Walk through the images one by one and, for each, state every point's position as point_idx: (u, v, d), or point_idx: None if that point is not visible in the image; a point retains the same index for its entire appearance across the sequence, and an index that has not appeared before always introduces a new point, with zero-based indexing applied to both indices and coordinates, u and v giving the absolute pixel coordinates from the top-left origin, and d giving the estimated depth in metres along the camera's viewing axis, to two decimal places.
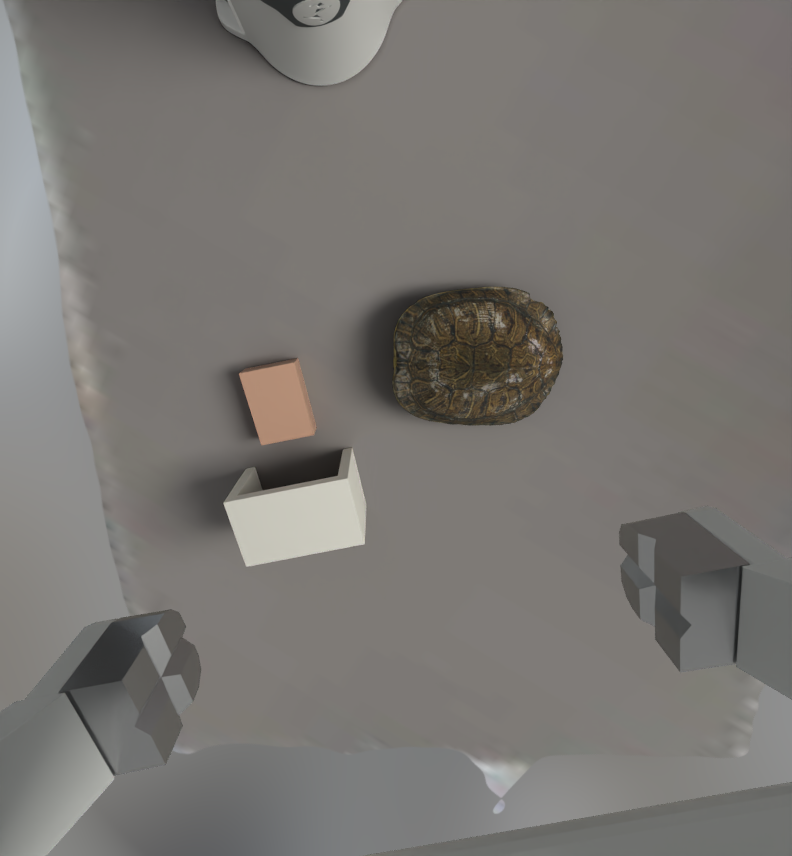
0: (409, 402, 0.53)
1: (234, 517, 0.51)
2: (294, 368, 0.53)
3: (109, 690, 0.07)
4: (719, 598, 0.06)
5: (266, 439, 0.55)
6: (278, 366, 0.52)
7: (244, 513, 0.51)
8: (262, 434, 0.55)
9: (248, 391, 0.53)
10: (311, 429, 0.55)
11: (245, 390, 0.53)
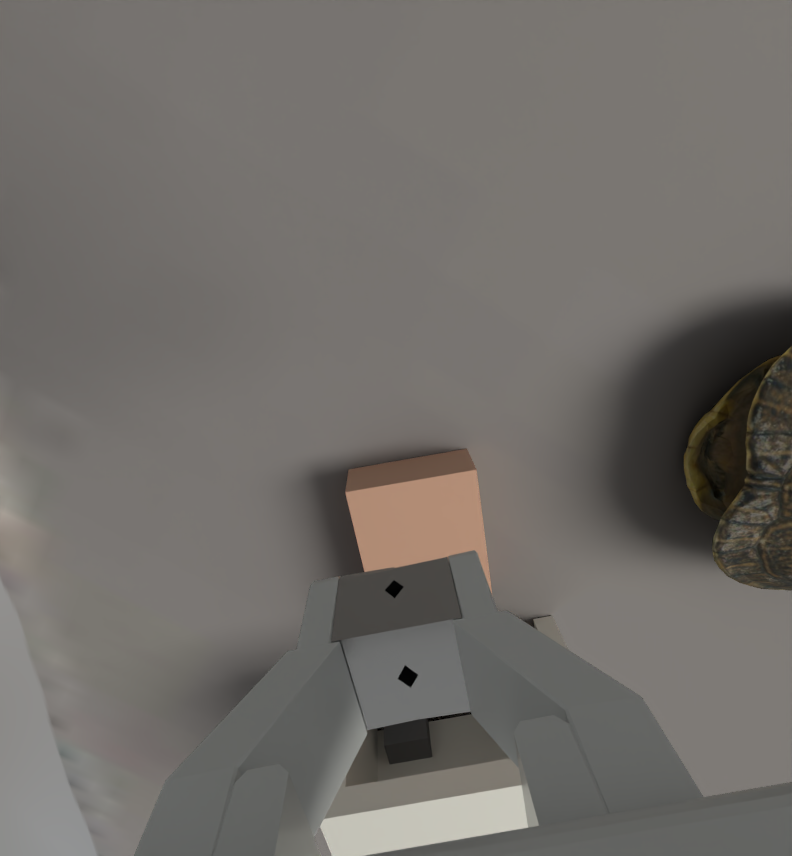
0: (742, 560, 0.23)
1: (341, 844, 0.21)
2: (475, 482, 0.23)
3: (382, 639, 0.06)
4: (440, 650, 0.07)
5: None
6: (438, 477, 0.22)
7: (366, 837, 0.21)
8: None
9: (363, 529, 0.23)
10: None
11: (356, 527, 0.23)
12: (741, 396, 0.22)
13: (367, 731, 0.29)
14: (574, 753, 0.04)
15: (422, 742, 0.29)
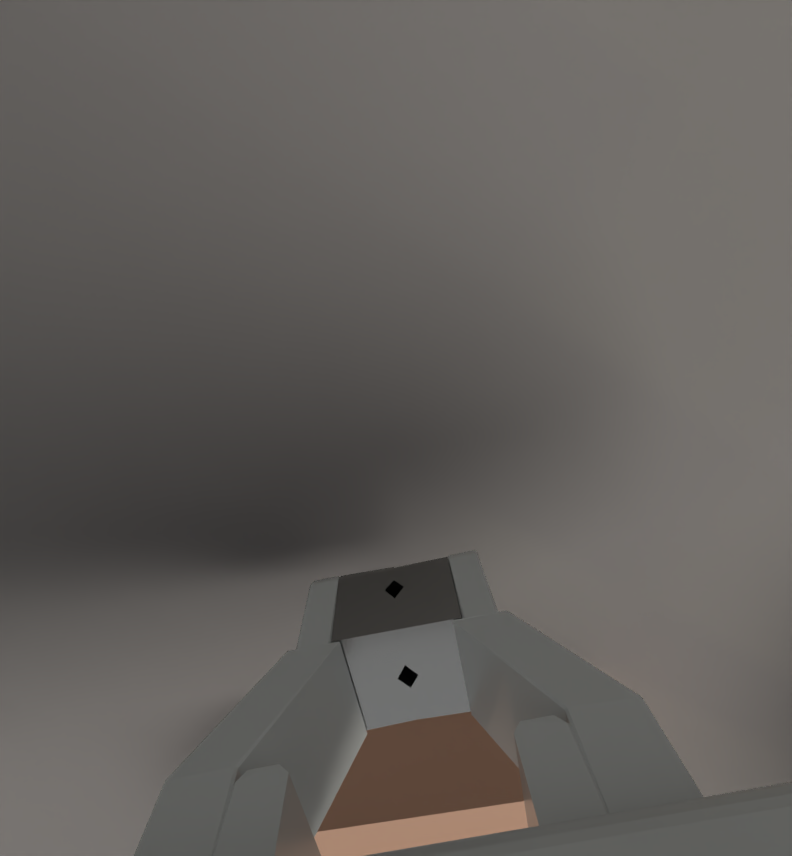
0: None
1: None
2: None
3: (382, 639, 0.06)
4: (440, 650, 0.07)
5: None
6: (523, 803, 0.09)
7: None
8: None
9: None
10: None
11: None
12: None
13: None
14: (574, 753, 0.04)
15: None
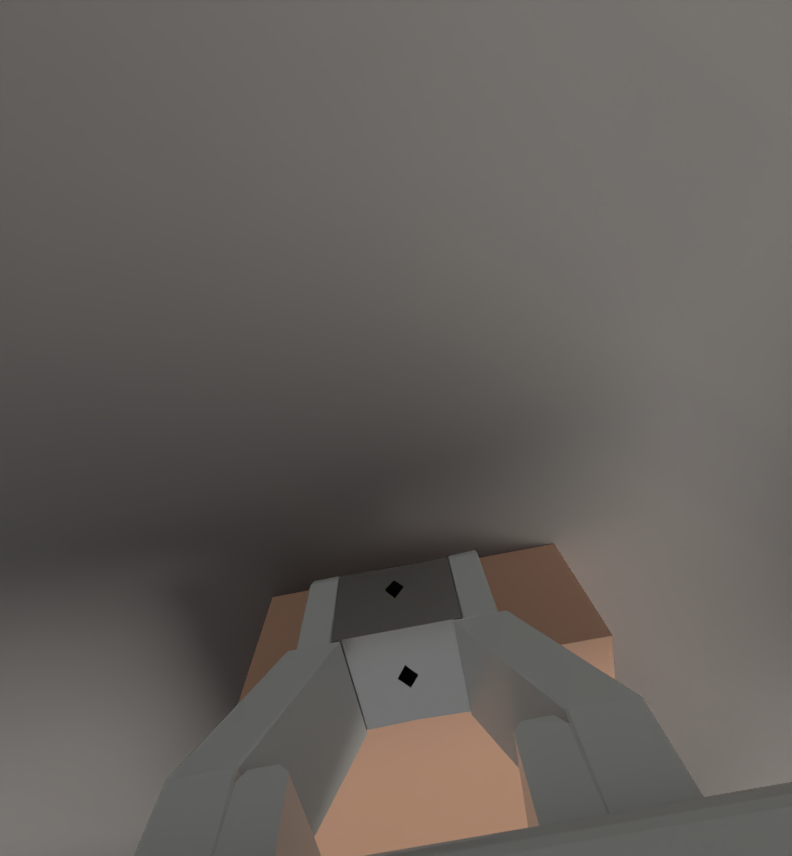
0: None
1: None
2: (605, 668, 0.08)
3: (383, 639, 0.06)
4: (440, 650, 0.07)
5: None
6: None
7: None
8: None
9: None
10: None
11: None
12: None
13: None
14: (574, 753, 0.04)
15: None
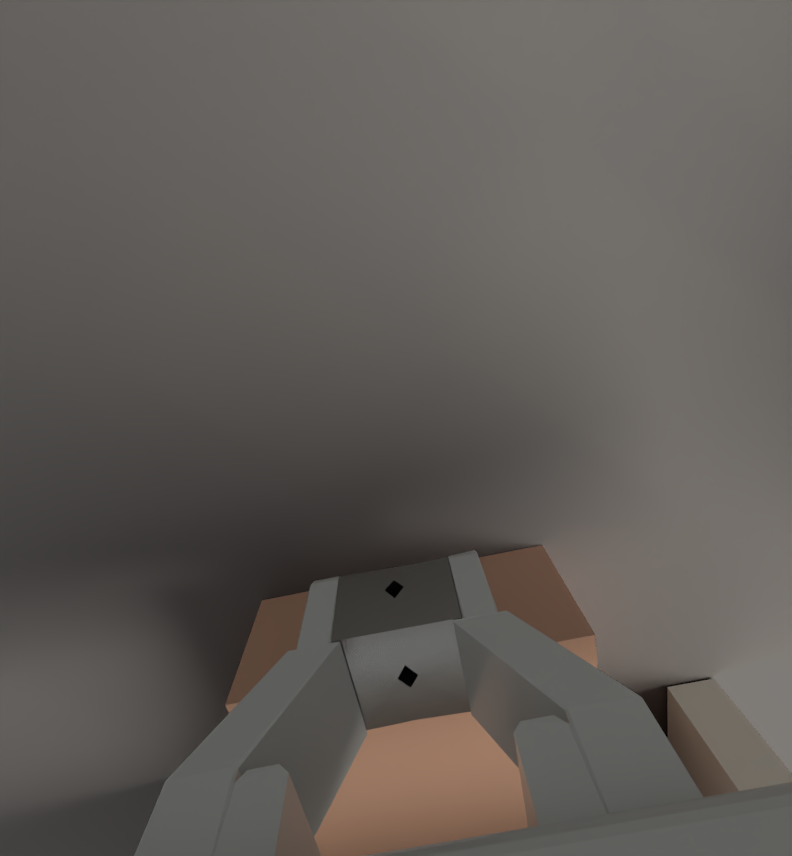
0: None
1: None
2: None
3: (382, 640, 0.06)
4: (440, 649, 0.07)
5: None
6: None
7: None
8: None
9: None
10: None
11: None
12: None
13: None
14: (574, 753, 0.04)
15: None
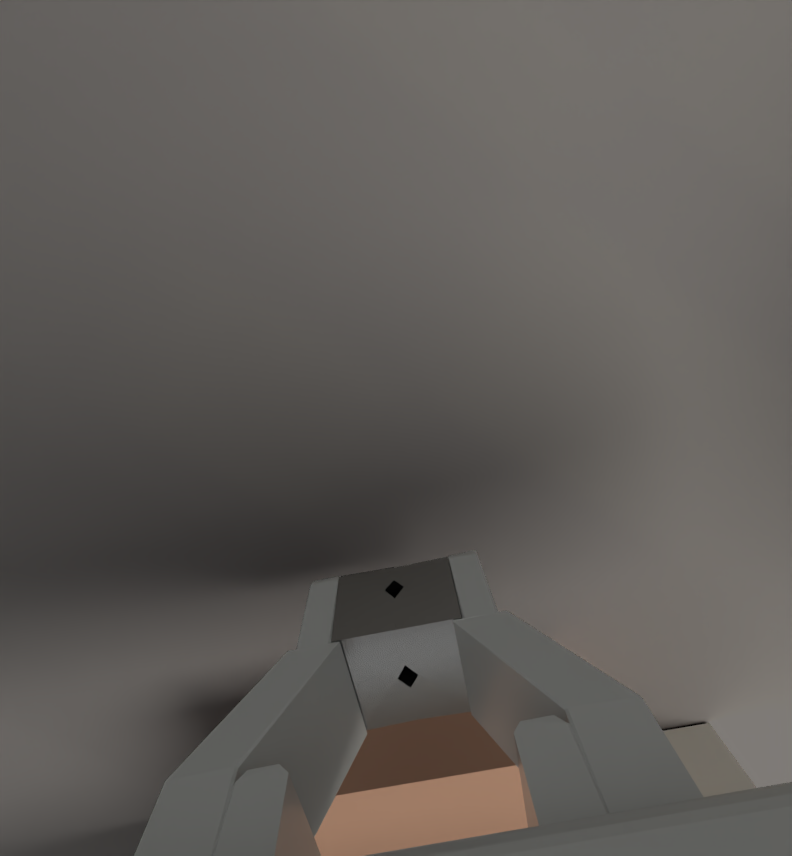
0: None
1: None
2: None
3: (383, 639, 0.06)
4: (440, 650, 0.07)
5: None
6: (484, 773, 0.08)
7: None
8: None
9: None
10: None
11: None
12: None
13: None
14: (574, 753, 0.04)
15: None
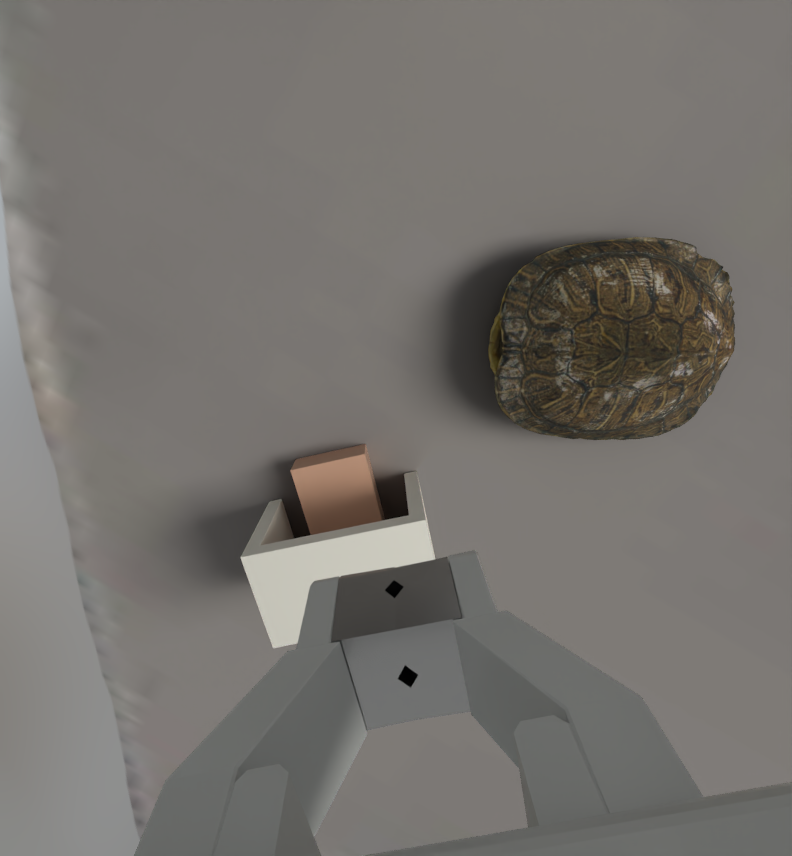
0: (516, 407, 0.36)
1: (256, 578, 0.35)
2: (364, 461, 0.39)
3: (382, 639, 0.06)
4: (440, 650, 0.07)
5: None
6: (343, 459, 0.39)
7: (271, 572, 0.34)
8: None
9: (302, 492, 0.40)
10: None
11: (298, 491, 0.40)
12: None
13: None
14: (574, 753, 0.04)
15: None
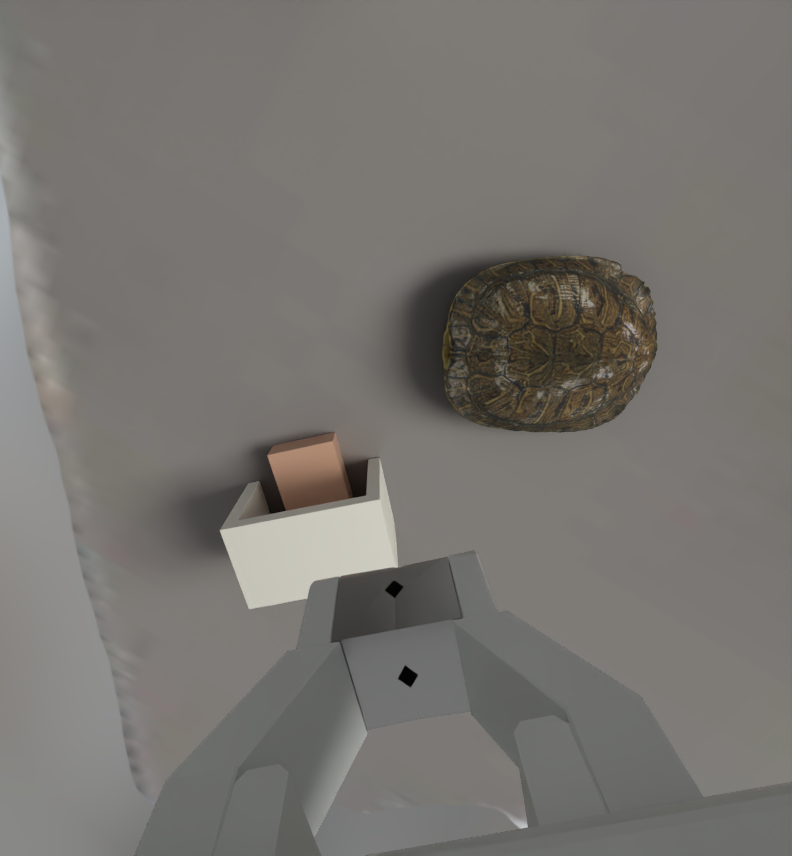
0: (464, 403, 0.42)
1: (234, 548, 0.40)
2: (332, 447, 0.44)
3: (382, 640, 0.06)
4: (440, 649, 0.07)
5: None
6: (314, 446, 0.44)
7: (247, 543, 0.40)
8: None
9: (278, 474, 0.45)
10: None
11: (275, 473, 0.45)
12: None
13: None
14: (574, 753, 0.04)
15: None
